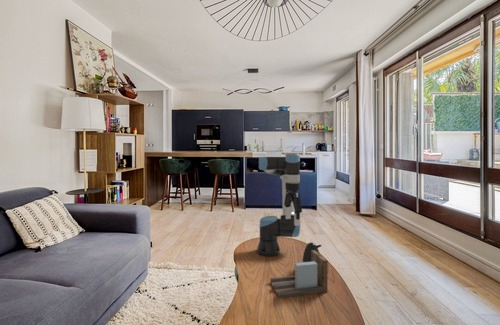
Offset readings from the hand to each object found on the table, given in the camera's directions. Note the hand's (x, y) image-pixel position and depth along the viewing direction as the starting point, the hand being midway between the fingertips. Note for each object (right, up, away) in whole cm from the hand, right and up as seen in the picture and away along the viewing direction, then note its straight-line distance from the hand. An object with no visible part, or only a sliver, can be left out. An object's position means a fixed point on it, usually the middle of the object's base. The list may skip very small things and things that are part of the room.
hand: (292, 222), depth 142 cm
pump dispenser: (+12, -29, +8) cm, 32 cm away
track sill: (+1, -29, -12) cm, 32 cm away
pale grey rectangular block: (+4, -28, -15) cm, 32 cm away
